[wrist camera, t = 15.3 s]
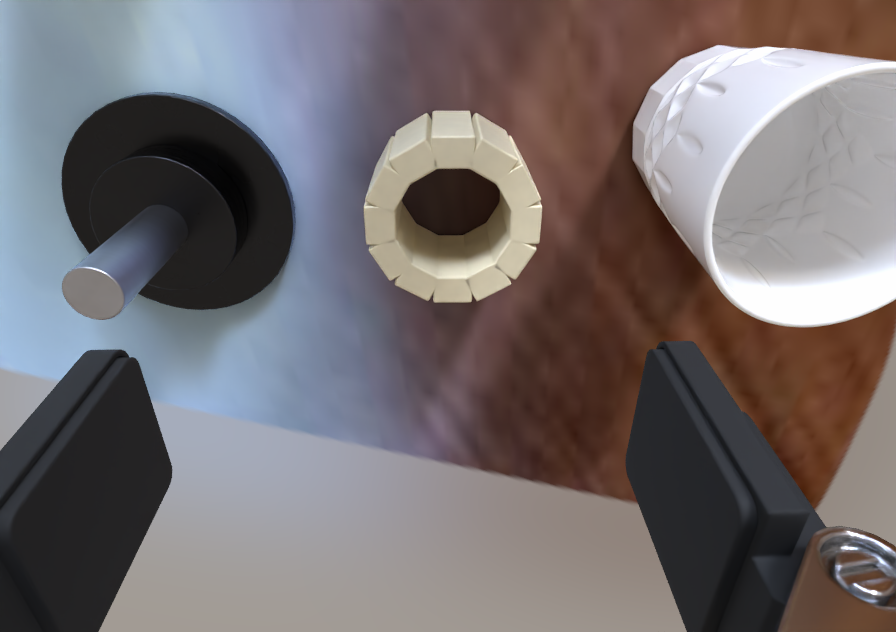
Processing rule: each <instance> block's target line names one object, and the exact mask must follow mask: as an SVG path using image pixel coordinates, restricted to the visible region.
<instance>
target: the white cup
mask: <svg viewBox="0 0 896 632" xmlns="http://www.w3.org/2000/svg"><path fill="white" fill-rule="evenodd" d="M632 158H633V161H634V163H635V165H636V167H637V169H638V171H639V173H640V175H641V177H642V179H643V181H644V183H645V185H646V187H647V188H648V190H649V191H650V192H651V194H652V196H653V198H654V200H655V201H656V203H657V205H658V206H659V208H660V209H661V210H662V212H663V213H664V215H665V216H666V218H667V219H668V221H669V222H670V223H671V225H672V226H673V228H674V230H675V231H676V232H677V234H678V235H679V237H680V238H681V239H682V240H683V242H684V243H685V244H686V246H687V247H688V248H689V250H690V251H691V252H692V254H693V255H694V256H695V258H696V259H697V260H698V261H699V263H700V264H701V265H702V267H703V268H704V269H705V271H706V272H707V273H708V275H709V276H710V277H711V279H712V280H713V281H714V283H715V284H716V286H717V287H718V288H719V290H720V291H721V292H722V293H723V295H724V296H725V297H726V298H727V299H728V300H729V301H730V302H731V303H732V304H733V305H735V306H736V307H737V308H739V309H740V310H741V311H743V312H745V313H746V314H748V315H750V316H752V317H754V318H756V319H759V320H762V321H764V322H768V323H771V324H776V325H781V326H788V327H817V326H825V325H831V324H836V323H840V322H844V321H848V320H851V319H854V318H857V317H860V316H863V315H865V314H868V313H870V312H872V311H875V310H877V309H879V308H881V307H883V306H885V305H887V304H888V303H890V302H892V301H894V300H895V299H896V61H888V60H879V59H871V58H864V57H856V56H848V55H841V54H832V53H824V52H816V51H808V50H800V49H794V48H775V47H760V48H753V49H752V48H743V47H733V46H723V45H717V46H714V47H712V48H709V49H706V50H704V51H701V52H698V53H696V54H693V55H690V56H688V57H685V58H682V59H680V60H679V61H678V62H677V63H676V64H675V65H674V66H672V67H671V68H670V69H669V70H668V71H667V72H666V73H665V74H664V75H663V76H662V77H661V78H660V79H659V80H658V81H656V82H655V83H654V84H653V85H652V86H651V87H650V88H649V90H648V93H647V95H646V97H645V99H644V101H643V103H642V105H641V108H640V110H639V112H638V114H637V116H636V118H635V120H634V123H633V152H632Z"/></svg>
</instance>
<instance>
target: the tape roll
mask: <svg viewBox="0 0 896 632" xmlns="http://www.w3.org/2000/svg"><path fill="white" fill-rule="evenodd" d="M436 169H471V170H472V171H474V172H476V173H478V174H479V175H481V176H483V177H485V178H486V179H488V180H490V181H492V182H493V183H495V184H496V185H497V186H498V188H499V190H500V202H499V204H498V205H497V207H496V208H495V210H494V211H493V213H492V215H491V216H490V218H489V219H488V221H487V222H486V223H485V224H483V225H481V226H479V227H477V228H475V229H474V230H472V231H470V232H468V233H466V234H464V235H437V234H435V233H433V232H431V231H429V230H427V229H425V228H423V227H422V226H420V225H418V224H416V223H415V221H414V220H413V218H412V216H411V215H410V213H409V212H408V210H407V209H406V207H405V206H404V204H403V202H402V198H403V196H404V194H405V193H406V191H407V189H408V187H409V185H410V184H412V183H413V182H415V181H417V180H419V179H420V178H422V177H424V176H426V175H427V174H429V173H431V172H433V171H434V170H436ZM365 200H366V201H365V205H364V222H365V236H366V244H367V245H370V246H369V252H370V253H371V255H372V256H373V258H374V259H375V261H376V262H377V263H378V265H379V266H380V268H381V269H382V271H383V272H384V273H385V275H386V276H387V278H388V279H389V280H390V281H391V280H393V279H395V285H396V286H398V287H400V288H402V289H404V290H406V291H408V292H410V293H412V294H414V295H416V296H418V297H420V298H422V299H424V300H426V301H428V300H429V299H430V298H431V296H432V295H433V301H434V302H435V303H465V302H471V301H472V294H473V296H474V298H475V299H476V301H479V300H481V299H483V298H485V297H487V296H489V295H491V294H493V293H495V292H497V291H499V290H501V289H503V288H505V287H507V286H509V285H511V281H510V278H512V279H517V277H518V276H519V274H520V273H521V272H522V270H523V269H524V267H525V266H526V264H527V263H528V262H529V260H530V259H531V257H532V256H533V254H534V253H535V252H536V246H535V244H538V243H539V242H540V230H541V218H542V205H541V203H540V200H541V197H540V195H539V193H538V191H537V188H536V186H535V184H534V182H533V179H532V177H531V175H530V173H529V170H528V168H527V166H526V164H525V162H524V160H523V158H522V156H521V154H520V152H519V150H518V148H517V146H516V144H515V143H514V141H513V139H512V137H511V136H508V134H507V132H506V130H504V129H502V128H501V127H499V126H497V125H496V124H494V123H492V122H491V121H489V120H487V119H486V118H484V117H482V116H481V115H479V114H478V113H475V114H474V115H473V117H472V118H471V114H470V111H433V112H432V120H431V118H430V116H429V114H427V113H425V114H424V115H422V116H420V117H419V118H417V119H415V120H414V121H412V122H410V123H409V124H407V125H405V126H404V127H402V128H400V129H399V130H397V131H396V134H395V137H394V136H391V138H390V139H389V141H388V143H387V145H386V147H385V149H384V151H383V153H382V155H381V157H380V159H379V160H378V162H377V164H376V167H375V170H374V173H373V176H372V179H371V182H370V186H369V189H368V192H367V195H366V198H365Z"/></svg>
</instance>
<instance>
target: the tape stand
mask: <svg viewBox="0 0 896 632" xmlns="http://www.w3.org/2000/svg"><path fill="white" fill-rule="evenodd" d="M62 192H63V200H64V203H65V207H66V211H67V214H68V217H69V219H70V222H71V224H72V227H73V228H74V230H75V232H76V234H77V236H78V238H79V240H80V241H81V242H82V244H83V245H84V247H85V248H86V250H87V251H88V252H89V254H90V255H88V256H87V257H86V258H85V259H84V260H82V261H81V262H80V263H79V264H78V265H76V266H75V267H74V268H73V269H71V270H70V271H69V272H68V273H67V274H66V275H65V277H64V279H63V283H62V291H63V294H64V297H65V299H66V300H67V302H68V303H69V305H70V306H71V307H72V308H73V309H75V310H76V311H77V312H78V313H80V314H82V315H84V316H86V317H89V318H92V319H98V320H104V319H110V318H113V317H115V316H117V315H118V314H119V313H120V312H121V311H122V310H123V309H124V308H125V307H126V306H127V305H128V304H129V302H130V301H131V300H132V299H133V298H134V297H135V296H136V295H137V294H140V295H142V296H144V297H146V298H149V299H151V300H154V301H157V302H159V303H162V304H166V305H170V306H173V307H179V308H185V309H197V310H206V309H218V308H223V307H228V306H232V305H235V304H238V303H241V302H243V301H245V300H247V299H249V298H251V297H253V296H255V295H256V294H258V293H259V292H261V291H262V290H263V289H264V288H265V287H266V286H268V285H269V284H270V283H271V282H272V281H273V279H274V278H275V277H276V276H277V275H278V273H279V272H280V270H281V268H282V267H283V265H284V263H285V261H286V259H287V257H288V255H289V252H290V250H291V247H292V243H293V239H294V234H295V207H294V202H293V197H292V193H291V190H290V187H289V184H288V181H287V179H286V177H285V175H284V173H283V171H282V168H281V166H280V165H279V163H278V162H277V160H276V159H275V157H274V155H273V154H272V152H271V151H270V150H269V149H268V147H267V146H266V145H265V144H264V143H263V141H262V140H261V139H260V138H259V137H258V136H257V135H256V134H255V133H254V132H253V131H252V130H251V129H250V128H248V127H247V126H246V125H244V124H243V123H242V122H241V121H239V120H238V119H237V118H235V117H234V116H232V115H230V114H229V113H227V112H226V111H224V110H222V109H220V108H218V107H216V106H214V105H212V104H210V103H207V102H205V101H202V100H199V99H196V98H193V97H190V96H185V95H180V94H175V93H162V92H153V93H141V94H136V95H132V96H127V97H124V98H122V99H119V100H117V101H114V102H112V103H109V104H107V105H106V106H104V107H102V108H100V109H99V110H97V111H95V112H94V113H93V114H92V115H91V116H90V117H88V118H87V119H86V120H85V121H84V122H83V123H82V125H81V126H80V127H79V128H78V129H77V131H76V132H75V134H74V136H73V137H72V139H71V141H70V143H69V145H68V148H67V151H66V153H65V156H64V162H63V167H62Z"/></svg>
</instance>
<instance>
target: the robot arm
mask: <svg viewBox="0 0 896 632" xmlns="http://www.w3.org/2000/svg"><path fill="white" fill-rule="evenodd" d="M626 470H627V475H628V478H629V480H630V483H631V486H632V488H633V491H634V494H635V496H636V499H637V501H638V504H639V507H640V509H641V512H642V515H643V517H644V520H645V523H646V525H647V527H648V530H649V533H650V535H651V538H652V541H653V543H654V546H655V549H656V552H657V554H658V557H659V559H660V562H661V565H662V567H663V570H664V572H665V575H666V578H667V580H668V583H669V585H670V588H671V591H672V594H673V596H674V599H675V601H676V604H677V607H678V609H679V612H680V614H681V617H682V620H683V623H684V625H685V628H686V630H687V632H896V547H895V546H894V545H893V544H891V543H889V542H887V541H885V540H884V539H881V538H880V537H878V536H876V535H874V534H871V533H868V532H865V531H863V530H859V529H856V528H850V527H843V526H836V527H826V526H825V525H824V523H823V522H822V520H821V519H820V518H819V516H818V514H817V513H816V512H815V510H814V509H813V507H812V506H811V504H810V503H809V501H808V500H807V499H806V497H805V496H804V494H803V493H802V491H801V490H800V488H799V487H798V486H797V484H796V483H795V481H794V480H793V478H792V477H791V475H790V474H789V473H788V471H787V470H786V468H785V467H784V465H783V464H782V462H781V461H780V460H779V458H778V457H777V455H776V454H775V452H774V451H773V449H772V448H771V446H770V445H769V444H768V442H767V441H766V439H765V438H764V436H763V435H762V433H761V432H760V431H759V429H758V428H757V426H756V425H755V423H754V422H753V420H752V419H751V418H750V417H749V416H748V415H747V414H746V413H745V412H742V411H741V410H740V408H739V407H738V405H737V404H736V403H735V401H734V400H733V398H732V397H731V395H730V394H729V392H728V391H727V389H726V388H725V386H724V385H723V383H722V382H721V380H720V379H719V378H718V376H717V375H716V373H715V372H714V370H713V369H712V367H711V366H710V364H709V363H708V361H707V360H706V358H705V357H704V356H703V354H702V353H701V351H700V350H699V348H698V347H697V345H696V344H695V343H694V342H692V341H663V342H660V343H659V344H658V346H657V348H656V349H651V350H649V351H648V353H647V356H646V361H645V366H644V371H643V376H642V380H641V385H640V390H639V395H638V400H637V405H636V410H635V415H634V419H633V424H632V429H631V434H630V439H629V444H628V449H627V454H626ZM171 478H172V465H171V462H170V459H169V456H168V452H167V449H166V447H165V443H164V440H163V437H162V434H161V431H160V427H159V424H158V421H157V418H156V415H155V412H154V409H153V406H152V403H151V399H150V396H149V393H148V390H147V387H146V384H145V381H144V378H143V375H142V371H141V368H140V365H139V363H138V361H137V360H136V359H135V358H133V357H129V356H128V354H127V353H126V352H125V351H124V350H90V351H87V352H85V353H84V354H83V355H82V356H81V358H80V359H79V360H78V361H77V362H76V363H75V364H74V366H73V367H72V368H71V369H70V370H69V371H68V373H67V374H66V375H65V376H64V377H63V378H62V380H61V381H60V382H59V383H58V384H57V385H56V387H55V388H54V389H53V390H52V391H51V393H50V394H49V395H48V396H47V397H46V398H45V399H44V401H43V402H42V403H41V404H40V405H39V406H38V408H37V409H36V410H35V411H34V412H33V413H32V414H31V416H30V417H29V418H28V419H27V420H26V422H25V423H24V424H23V425H22V426H21V427H20V429H19V430H18V431H17V432H16V433H15V434H14V435H13V437H12V438H11V439H10V440H9V441H8V442H7V444H6V445H5V446H4V447H3V448H2V450H1V451H0V632H98V631H99V629H100V627H101V625H102V623H103V621H104V619H105V617H106V615H107V613H108V611H109V609H110V607H111V605H112V602H113V601H114V599H115V597H116V594H117V592H118V590H119V588H120V586H121V584H122V582H123V580H124V578H125V576H126V574H127V572H128V570H129V568H130V566H131V564H132V562H133V560H134V557H135V555H136V553H137V551H138V549H139V547H140V545H141V543H142V541H143V539H144V537H145V535H146V533H147V531H148V529H149V527H150V524H151V523H152V520H153V518H154V516H155V514H156V512H157V510H158V508H159V506H160V504H161V502H162V500H163V498H164V496H165V494H166V492H167V490H168V488H169V485H170V482H171Z"/></svg>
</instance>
